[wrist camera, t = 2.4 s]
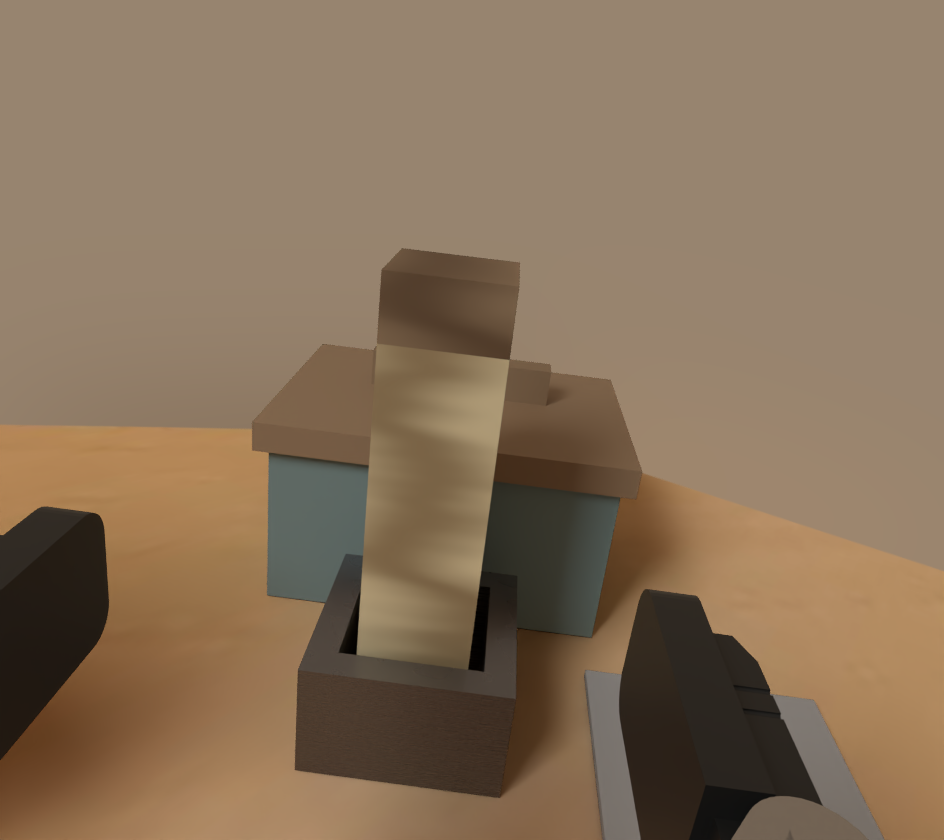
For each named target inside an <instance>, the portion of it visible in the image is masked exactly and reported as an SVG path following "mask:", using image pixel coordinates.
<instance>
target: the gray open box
mask: <svg viewBox="0 0 944 840" xmlns="http://www.w3.org/2000/svg"><path fill="white" fill-rule="evenodd" d="M362 565H363V556H361V555H353V554H345V557H344V559H343V561H342V564H341V566H340V569H339V571H338V574H337V576H336V579H335V581H334V583H333V586H332V588H331V591H330V593H329V596H328V598H327V600H326V603H325V605H324V608H323V610H322V613H321V615H320V617H319V620H318V622H317V625H316V627H315V630H314V632H313V635H312V637H311V639H310V642H309V644H308V647H307V649H306V652H305V654H304V656H303V659H302V661H301V664H300V666H299V669H298V684H297V716H296V749H295V770H299V771H307V772H314V773H321V774H329V775H336V776H344V777H351V778H359V779H366V780H373V781H381V782H388V783H396V784H403V785H410V786H418V787H425V788H433V789H440V790H448V791H455V792H462V793H470V794H477V795H485V796H492V797H499V798H500V792H501V786H502V780H503V774H504V768H505V762H506V756H507V750H508V744H509V738H510V732H511V726H512V720H513V714H514V708H515V702H516V659H517V576H515V575H507V574H500V573H492V572H484V571H481V576H480V584H479V591H478V599H477V606H476V614H475V621H474V629H473V636H472V644H471V651H470V659H469V666H468V670H466V669H458V668H451V667H443V666H436V665H428V664H420V663H413V662H405V661H398V660H390V659H383V658H375V657H367V656H360V655H357V642H358V627H359V611H360V596H361V580H362Z"/></svg>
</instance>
